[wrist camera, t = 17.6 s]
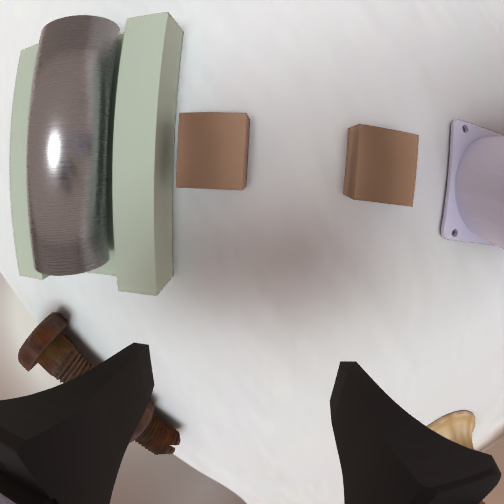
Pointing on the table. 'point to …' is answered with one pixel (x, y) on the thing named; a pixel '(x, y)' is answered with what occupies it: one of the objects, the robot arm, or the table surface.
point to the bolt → (73, 365)
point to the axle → (70, 145)
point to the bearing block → (236, 157)
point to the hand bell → (456, 428)
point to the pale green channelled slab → (121, 155)
